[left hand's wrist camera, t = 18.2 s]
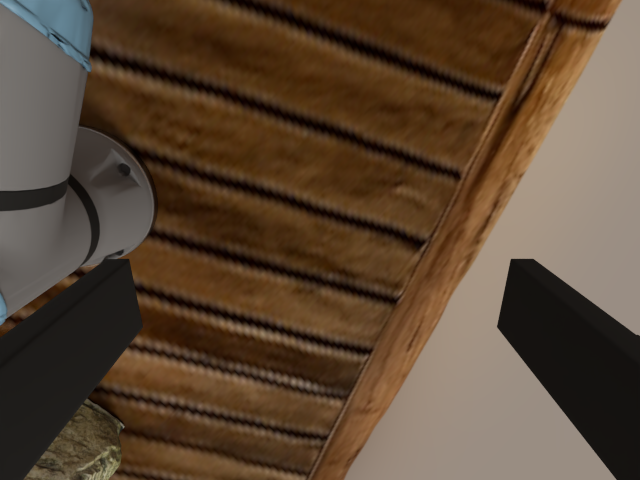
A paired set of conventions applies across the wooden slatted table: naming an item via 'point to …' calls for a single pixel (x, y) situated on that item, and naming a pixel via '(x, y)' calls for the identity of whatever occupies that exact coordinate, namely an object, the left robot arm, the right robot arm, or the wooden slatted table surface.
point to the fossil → (82, 448)
